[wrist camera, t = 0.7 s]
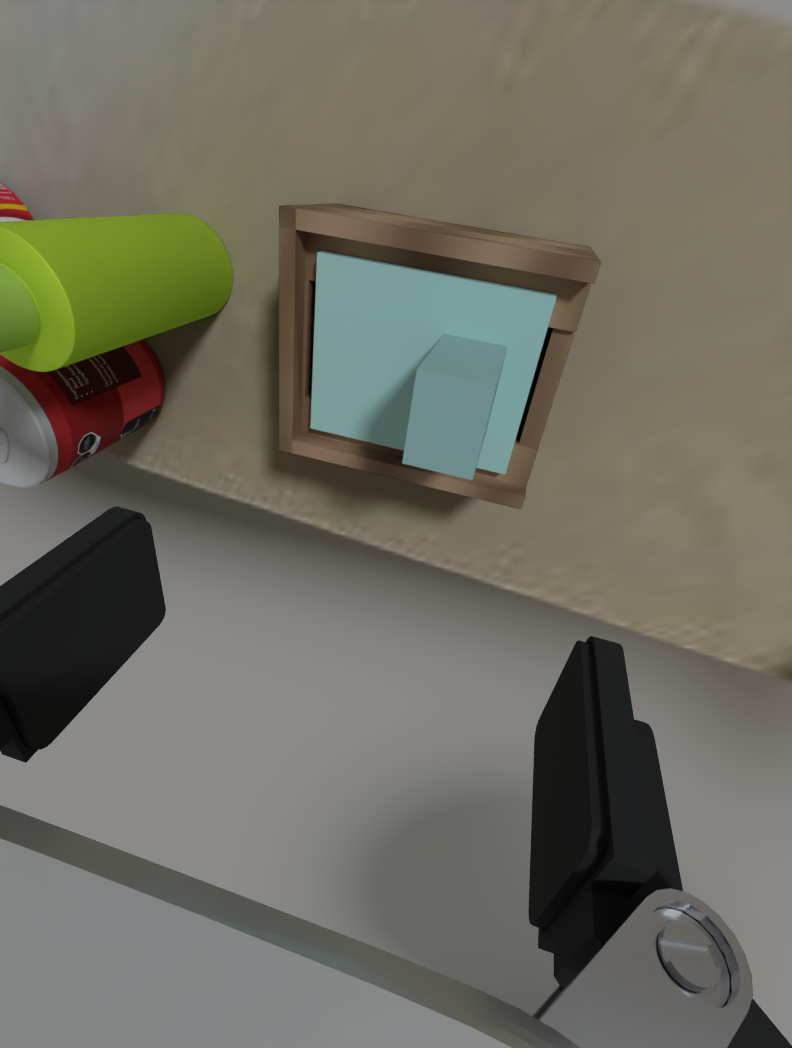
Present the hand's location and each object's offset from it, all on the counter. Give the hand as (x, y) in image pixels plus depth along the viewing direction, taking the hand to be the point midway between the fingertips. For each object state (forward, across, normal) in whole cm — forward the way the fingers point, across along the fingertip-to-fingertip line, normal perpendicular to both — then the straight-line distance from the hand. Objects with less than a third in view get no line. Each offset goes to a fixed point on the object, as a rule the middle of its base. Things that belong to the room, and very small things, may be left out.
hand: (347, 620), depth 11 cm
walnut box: (+24, +2, 0) cm, 24 cm away
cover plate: (+18, +2, 0) cm, 18 cm away
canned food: (+24, +26, +7) cm, 36 cm away
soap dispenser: (+24, +18, -1) cm, 30 cm away
